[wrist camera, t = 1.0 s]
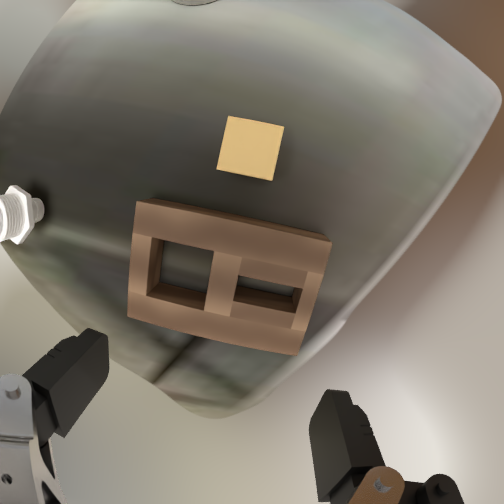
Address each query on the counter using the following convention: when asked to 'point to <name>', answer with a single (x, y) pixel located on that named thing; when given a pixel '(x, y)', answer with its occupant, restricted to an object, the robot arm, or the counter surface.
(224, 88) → the counter surface
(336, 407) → the robot arm
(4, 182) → the counter surface
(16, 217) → the pipe fitting
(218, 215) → the socket block
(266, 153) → the square peg
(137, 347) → the counter surface
